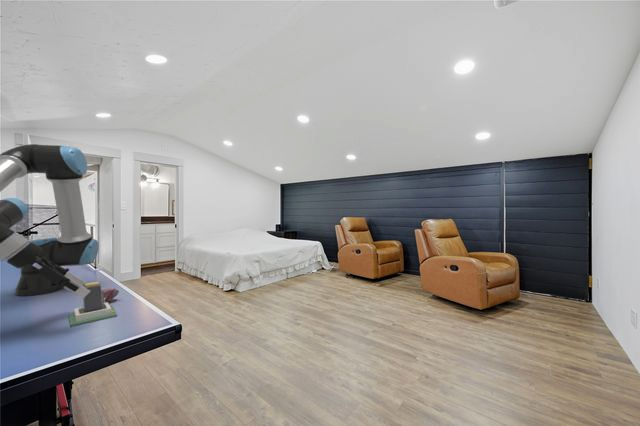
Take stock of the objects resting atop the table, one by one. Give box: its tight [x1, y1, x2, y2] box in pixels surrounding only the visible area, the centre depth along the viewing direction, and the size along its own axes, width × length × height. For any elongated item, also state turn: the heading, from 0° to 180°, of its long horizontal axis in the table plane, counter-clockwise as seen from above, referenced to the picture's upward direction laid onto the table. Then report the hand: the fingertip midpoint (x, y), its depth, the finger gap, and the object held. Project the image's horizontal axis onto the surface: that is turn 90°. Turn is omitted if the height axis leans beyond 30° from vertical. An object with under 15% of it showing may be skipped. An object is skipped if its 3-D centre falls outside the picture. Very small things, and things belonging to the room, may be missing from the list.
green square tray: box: [68, 302, 118, 328], centre depth 96 cm, size 12×12×3 cm
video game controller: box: [103, 287, 120, 303], centre depth 108 cm, size 10×5×7 cm, turn 169°
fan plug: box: [82, 280, 105, 313], centre depth 96 cm, size 4×5×11 cm
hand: (84, 290), depth 94 cm, fingers open, 13 cm apart
